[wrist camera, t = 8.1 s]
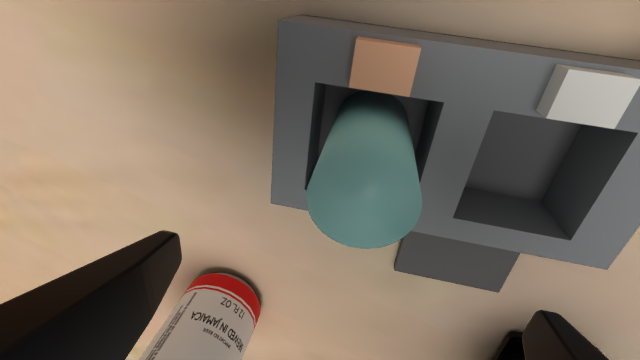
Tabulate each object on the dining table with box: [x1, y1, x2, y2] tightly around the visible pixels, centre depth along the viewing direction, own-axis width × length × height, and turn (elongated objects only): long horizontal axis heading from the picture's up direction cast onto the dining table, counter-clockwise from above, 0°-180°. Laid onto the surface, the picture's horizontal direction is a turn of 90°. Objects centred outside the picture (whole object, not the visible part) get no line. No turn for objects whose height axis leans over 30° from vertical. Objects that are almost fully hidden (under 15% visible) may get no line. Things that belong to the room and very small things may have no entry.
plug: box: [306, 90, 422, 249], centre depth 15 cm, size 4×4×8 cm
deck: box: [394, 231, 520, 292], centre depth 22 cm, size 6×7×1 cm
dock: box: [271, 15, 640, 270], centre depth 16 cm, size 9×17×5 cm, turn 84°
